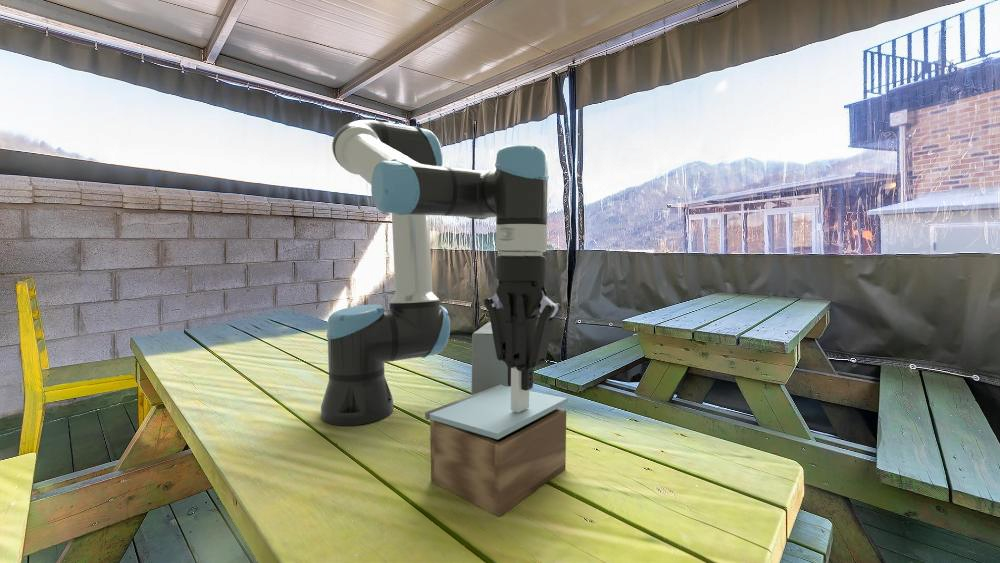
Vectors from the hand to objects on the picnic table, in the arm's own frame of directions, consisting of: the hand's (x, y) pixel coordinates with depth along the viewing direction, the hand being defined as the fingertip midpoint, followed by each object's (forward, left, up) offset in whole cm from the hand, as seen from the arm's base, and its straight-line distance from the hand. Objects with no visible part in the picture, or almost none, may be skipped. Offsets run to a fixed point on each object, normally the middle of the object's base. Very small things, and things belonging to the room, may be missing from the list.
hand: (520, 408), depth 66 cm
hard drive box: (-19, +17, -12) cm, 28 cm away
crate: (-4, 0, -12) cm, 13 cm away
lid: (-4, 0, -1) cm, 5 cm away
